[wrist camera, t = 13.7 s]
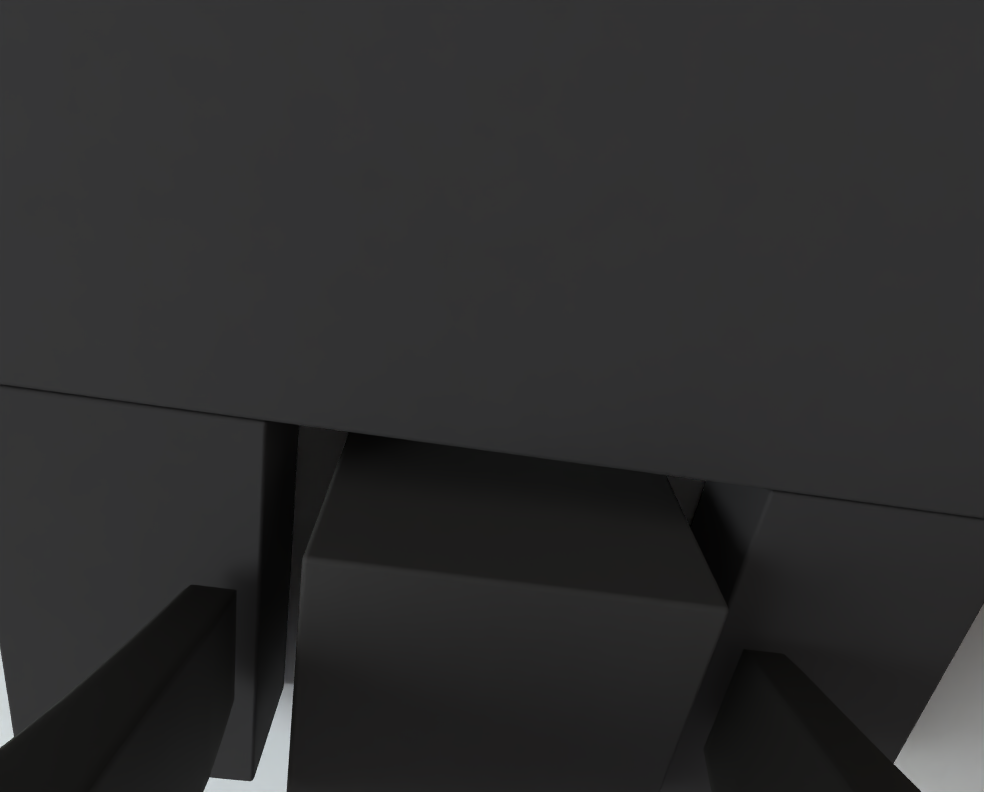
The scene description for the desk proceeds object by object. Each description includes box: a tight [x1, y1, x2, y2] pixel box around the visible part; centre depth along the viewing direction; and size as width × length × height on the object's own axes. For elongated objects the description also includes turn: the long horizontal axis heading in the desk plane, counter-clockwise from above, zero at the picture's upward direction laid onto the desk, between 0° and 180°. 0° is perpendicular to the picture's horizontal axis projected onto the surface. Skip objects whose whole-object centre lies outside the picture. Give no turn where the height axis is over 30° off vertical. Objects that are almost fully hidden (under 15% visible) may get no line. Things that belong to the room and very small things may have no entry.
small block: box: [287, 432, 728, 792], centre depth 11 cm, size 5×5×4 cm
